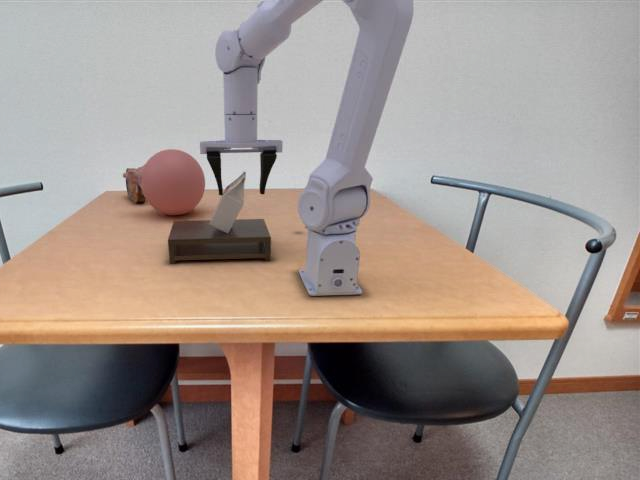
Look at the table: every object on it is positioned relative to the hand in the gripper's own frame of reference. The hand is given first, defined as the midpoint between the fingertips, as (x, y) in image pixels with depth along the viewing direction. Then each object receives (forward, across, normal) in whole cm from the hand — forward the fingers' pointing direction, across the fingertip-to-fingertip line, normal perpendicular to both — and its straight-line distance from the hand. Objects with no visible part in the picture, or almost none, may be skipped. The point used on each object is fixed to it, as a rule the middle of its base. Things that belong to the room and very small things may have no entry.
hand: (241, 193), depth 80 cm
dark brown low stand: (+10, +4, +2) cm, 11 cm away
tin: (+10, +27, -44) cm, 52 cm away
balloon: (+10, +17, -27) cm, 34 cm away
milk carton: (+5, +4, +2) cm, 7 cm away
